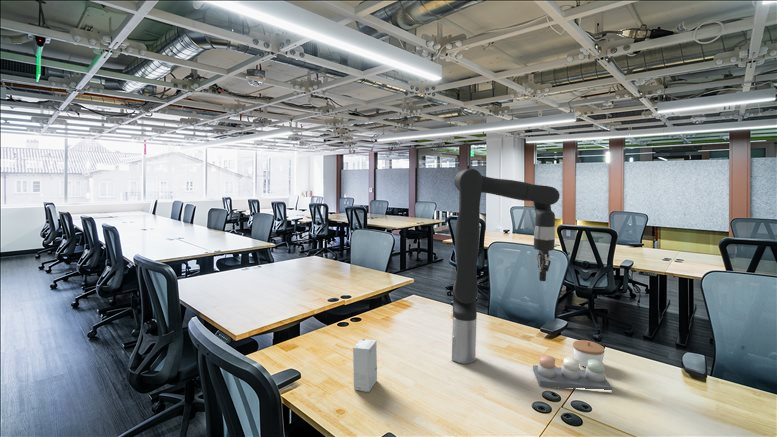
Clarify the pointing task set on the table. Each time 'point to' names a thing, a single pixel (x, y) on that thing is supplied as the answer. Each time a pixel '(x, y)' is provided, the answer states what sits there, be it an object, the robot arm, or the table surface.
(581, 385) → the control board
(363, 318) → the table surface
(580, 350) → the lidded jar
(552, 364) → the knob
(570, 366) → the knob mid
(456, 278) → the robot arm
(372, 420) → the table surface
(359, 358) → the skincare box
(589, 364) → the knob
